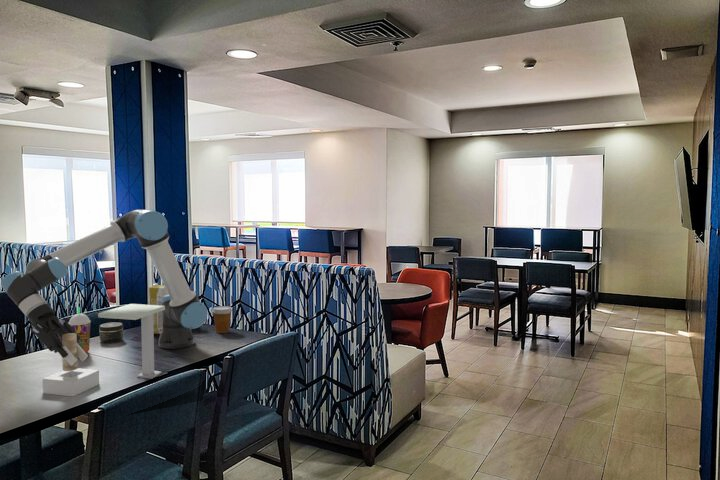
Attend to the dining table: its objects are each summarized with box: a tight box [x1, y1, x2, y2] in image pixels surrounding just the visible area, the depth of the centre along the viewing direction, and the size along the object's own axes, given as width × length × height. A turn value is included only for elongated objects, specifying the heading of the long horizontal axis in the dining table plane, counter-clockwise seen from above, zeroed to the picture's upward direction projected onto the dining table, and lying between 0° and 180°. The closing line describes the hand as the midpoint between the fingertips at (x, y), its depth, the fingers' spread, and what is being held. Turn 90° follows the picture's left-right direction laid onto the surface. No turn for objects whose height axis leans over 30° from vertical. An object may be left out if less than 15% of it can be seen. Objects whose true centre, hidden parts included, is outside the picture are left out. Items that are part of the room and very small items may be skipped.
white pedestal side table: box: [97, 303, 165, 380], centre depth 192 cm, size 17×18×24 cm
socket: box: [42, 367, 100, 397], centre depth 178 cm, size 12×12×5 cm
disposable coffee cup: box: [211, 305, 233, 334], centre depth 257 cm, size 10×10×12 cm
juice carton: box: [147, 283, 169, 335], centre depth 254 cm, size 9×8×24 cm
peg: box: [61, 333, 78, 371], centre depth 177 cm, size 4×4×12 cm
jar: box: [98, 322, 124, 344], centre depth 238 cm, size 10×10×8 cm
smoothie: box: [68, 306, 92, 355], centre depth 216 cm, size 8×8×20 cm
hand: (79, 360), depth 176 cm, fingers closed on peg, 4 cm apart
